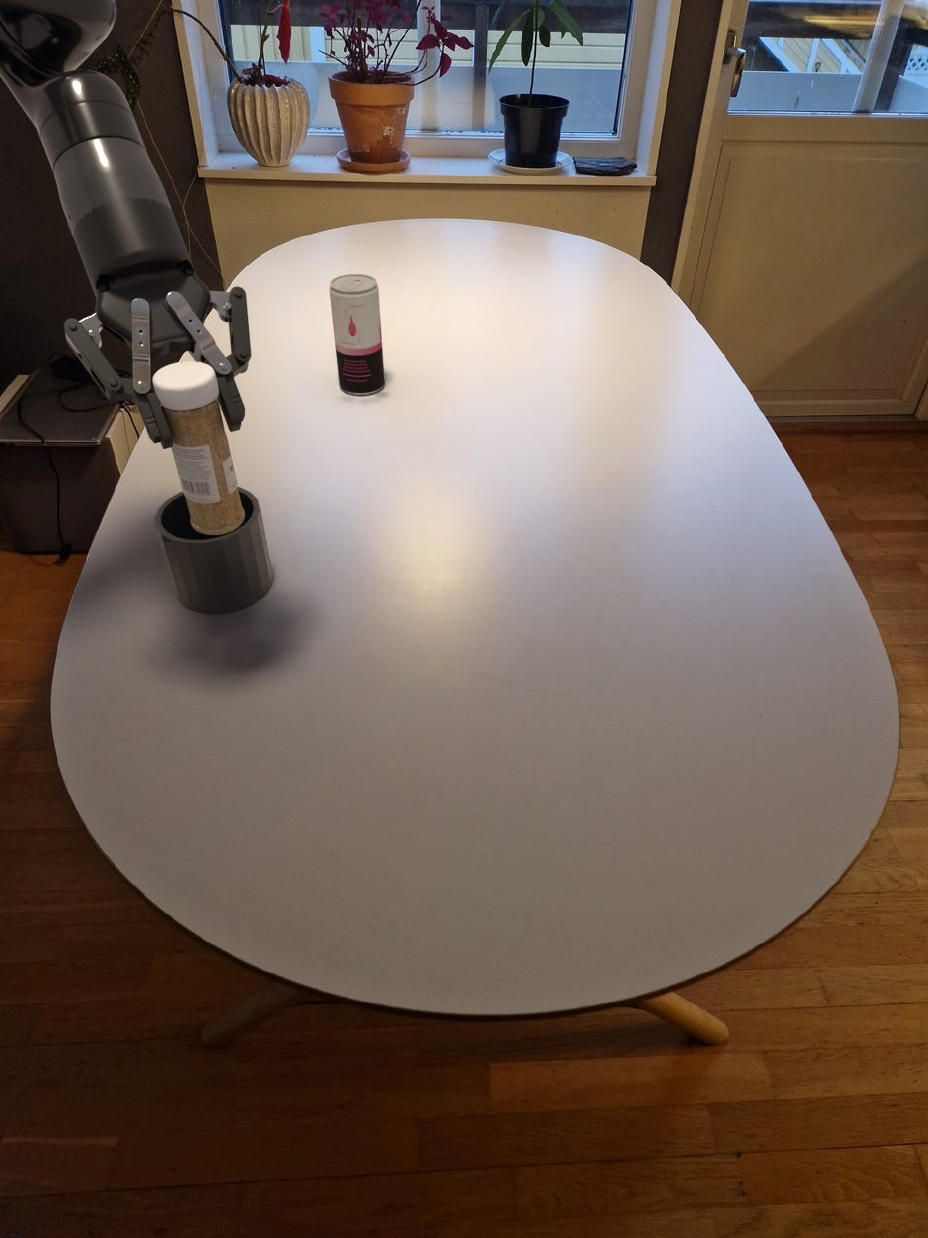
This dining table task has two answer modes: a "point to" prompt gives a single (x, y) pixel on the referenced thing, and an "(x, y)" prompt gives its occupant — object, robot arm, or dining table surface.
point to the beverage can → (357, 333)
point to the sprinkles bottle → (200, 445)
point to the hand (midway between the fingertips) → (202, 435)
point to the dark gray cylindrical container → (215, 558)
